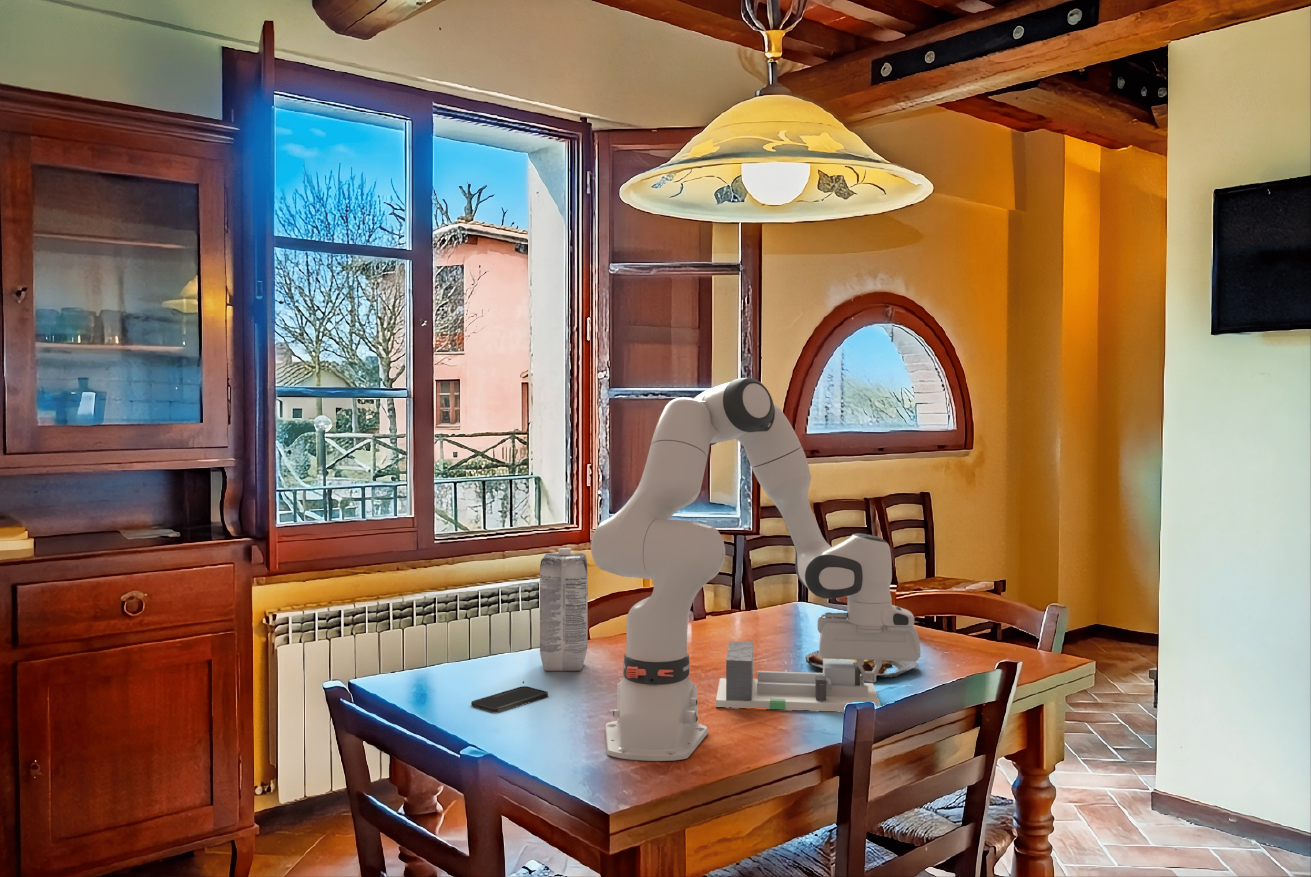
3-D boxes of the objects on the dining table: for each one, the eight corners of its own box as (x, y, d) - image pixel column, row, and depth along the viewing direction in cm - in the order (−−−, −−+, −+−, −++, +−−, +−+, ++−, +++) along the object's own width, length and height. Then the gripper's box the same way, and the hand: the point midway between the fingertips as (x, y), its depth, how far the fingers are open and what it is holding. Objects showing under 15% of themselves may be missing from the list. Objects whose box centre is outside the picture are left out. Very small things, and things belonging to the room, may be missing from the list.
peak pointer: (826, 703, 194) (826, 682, 194) (816, 702, 194) (816, 682, 194) (825, 696, 199) (825, 676, 199) (815, 695, 199) (815, 675, 199)
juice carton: (585, 672, 223) (585, 552, 222) (538, 672, 222) (538, 552, 222) (588, 662, 231) (588, 546, 231) (542, 662, 231) (542, 546, 230)
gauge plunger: (862, 701, 195) (862, 676, 195) (826, 700, 196) (826, 675, 196) (856, 684, 208) (857, 660, 207) (822, 682, 208) (823, 659, 208)
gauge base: (881, 714, 193) (881, 696, 193) (715, 707, 197) (715, 690, 197) (872, 690, 209) (872, 673, 209) (720, 685, 213) (720, 668, 213)
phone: (550, 692, 205) (495, 709, 193) (550, 698, 205) (495, 715, 193) (523, 685, 210) (468, 701, 198) (523, 690, 210) (468, 707, 198)
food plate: (865, 688, 210) (866, 672, 210) (784, 667, 228) (784, 651, 228) (936, 672, 226) (936, 656, 226) (854, 653, 244) (855, 639, 244)
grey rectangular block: (751, 701, 196) (751, 661, 196) (726, 700, 197) (726, 660, 196) (752, 679, 212) (753, 641, 212) (729, 678, 213) (729, 641, 212)
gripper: (818, 615, 201) (817, 683, 202) (922, 618, 199) (921, 686, 199) (816, 609, 208) (816, 675, 208) (917, 611, 205) (916, 678, 206)
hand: (868, 680), depth 204 cm, fingers closed
